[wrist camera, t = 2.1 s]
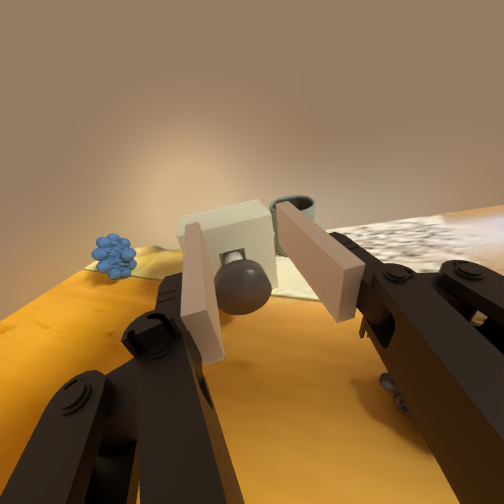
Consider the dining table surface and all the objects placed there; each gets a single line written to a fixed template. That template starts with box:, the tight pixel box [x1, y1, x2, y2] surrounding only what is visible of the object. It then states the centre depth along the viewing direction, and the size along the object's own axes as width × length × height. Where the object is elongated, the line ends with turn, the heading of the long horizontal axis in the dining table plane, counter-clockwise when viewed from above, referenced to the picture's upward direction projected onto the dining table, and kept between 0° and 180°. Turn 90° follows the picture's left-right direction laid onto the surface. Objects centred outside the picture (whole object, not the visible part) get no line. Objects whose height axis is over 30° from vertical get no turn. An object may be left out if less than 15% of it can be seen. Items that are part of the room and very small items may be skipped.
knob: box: [214, 249, 272, 315], centre depth 34 cm, size 8×11×8 cm
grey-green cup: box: [270, 195, 315, 257], centre depth 50 cm, size 10×10×12 cm
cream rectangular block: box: [177, 199, 278, 289], centre depth 40 cm, size 15×8×16 cm, turn 104°
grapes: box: [92, 233, 137, 280], centre depth 49 cm, size 12×7×12 cm, turn 177°
